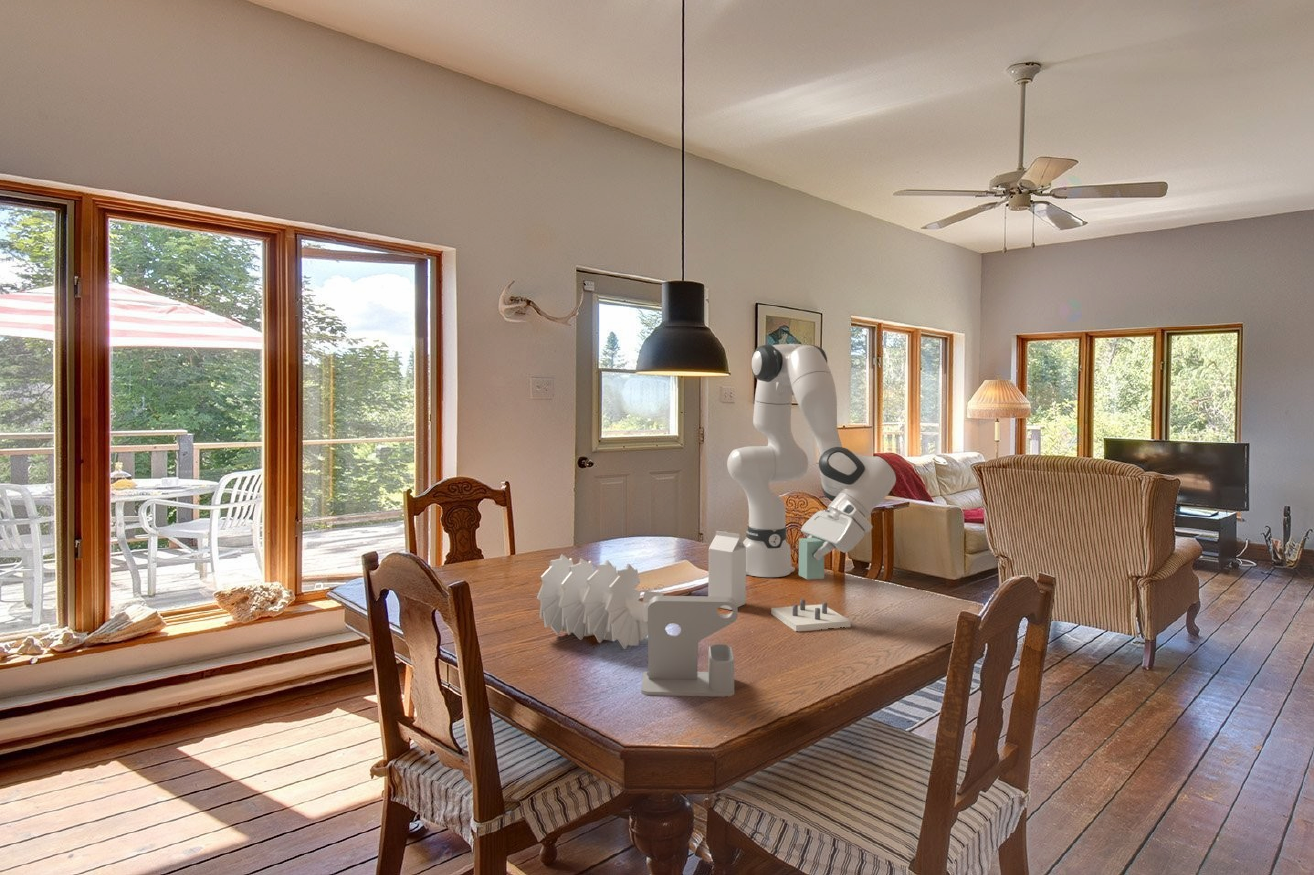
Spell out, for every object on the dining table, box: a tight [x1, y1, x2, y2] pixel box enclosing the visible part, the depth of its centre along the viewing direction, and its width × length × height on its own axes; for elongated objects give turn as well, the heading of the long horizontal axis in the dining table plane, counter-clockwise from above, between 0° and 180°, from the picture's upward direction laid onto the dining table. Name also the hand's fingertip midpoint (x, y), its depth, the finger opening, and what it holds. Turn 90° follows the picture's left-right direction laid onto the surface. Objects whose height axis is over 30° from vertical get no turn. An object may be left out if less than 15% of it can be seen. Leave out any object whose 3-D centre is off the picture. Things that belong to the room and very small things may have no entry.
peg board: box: [770, 598, 852, 632], centre depth 176 cm, size 14×14×4 cm
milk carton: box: [707, 530, 747, 611], centre depth 188 cm, size 7×7×19 cm
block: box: [798, 537, 825, 580], centre depth 175 cm, size 4×4×9 cm
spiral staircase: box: [536, 553, 664, 650], centre depth 161 cm, size 18×18×25 cm
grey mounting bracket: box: [640, 595, 739, 697], centre depth 136 cm, size 17×10×18 cm, turn 88°
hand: (809, 555), depth 175 cm, fingers closed on block, 4 cm apart
